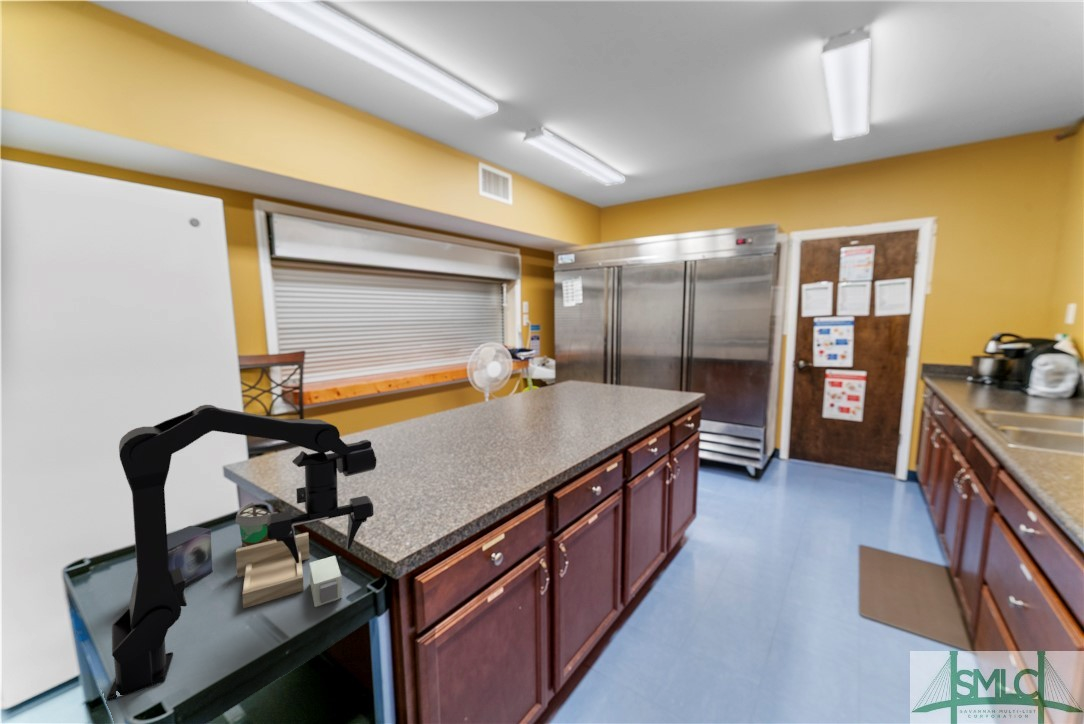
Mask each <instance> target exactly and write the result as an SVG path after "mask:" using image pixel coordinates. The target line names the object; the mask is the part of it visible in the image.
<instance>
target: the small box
mask: <svg viewBox="0 0 1084 724" xmlns="http://www.w3.org/2000/svg"><path fill="white" fill-rule="evenodd" d="M167 545H168V562H169V569H170V571H172V570H174V569H176V568H179V567H181V570H182V573H183V577H184V580H185V587H184V589H185V588H187V587H189V586H191V585H192V584H194V583H196V582H198V581H200V580H201V579H203V578H205V577H206V576H208V575H210V574H212V573H213V555H212V553H213V552H212V529H210V528H205V527H199V526H194V525H189V526H186V527H184V528H182V529H179V530H177V531H174V532H173V533H169V534H167Z"/></svg>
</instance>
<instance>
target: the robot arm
mask: <svg viewBox="0 0 1084 724" xmlns="http://www.w3.org/2000/svg"><path fill="white" fill-rule="evenodd" d="M211 432H220V433H227V434H233V435H238V436H239V435H242V436H248V437H255V438H262V439H268V440H276V441H283V442H288V443H290V444H293V445H295V446H298V447H301V448H304V449H307V450H310V451H314V452H312V453H307V452H305V451H303V450H302V451H300V453H299V455H297V456H295V458H294V459H292V461H291V462H292V463H293V465H295V466H297V467H298V468H302V467H304V478H305V479H304V483H305V486H303V487H299V488H298V487H297V488H296V489H295V490H296V491H295V492H296V504H304V506H305V507H304V509H305V511H306V512H305V513H302V514H297V515H293V516H292V510H287V511H280V512H278V513H276V514H271V515H270V516H269V517H268V523H267V535H268V539H275V538H276V541H277V542H280V541H283V542H284V544H285V545H286V546H287V547H288V548H289V550H290V552H291V553H292V555H293V557H294V559H295V561H296V563H299V552H298V547H297V542H296V537H295V535H296V532H295V527H296V526H301V525H305V524H311V523H315V522H319V521H324V520H329V519H334V518H338V517H342V516H346V515H347V516H348V519H347V521H348V522H347V534H346V550H347V551H349V550H350V549H351V547H352V545H353V542H354V539H355V537H356V535H357V532H358V531H359V529H360V527H361V525H362V524H363V523H365V522H367V521H368V518H371V517H373V516H374V504H373V502H372V500H371V498H370V497H369V496H367V495H362V496H358V497H352V498H349V504H345V505H340V506H339V499H338V498H339V497H338V494H339V493H338V473H339V474H342V475H343V476H344V477H351V476H355V475H359V474H363V473H367V472H371V471H374V470H375V469H376V465H377V456H376V454H375V451H374V449H373V447H372V441H370V440H368V439H364V440H360V441H358V442H353V443H352V442H351V443H345V442H344V441H343V440H342V439H341V438H340V436H341V435H340V431H339V429H338V427H337V426H336V425H334V424H331V423H329V422H327V421H325V420H322V419H315V418H314V419H313V418H301V419H297V418H296V419H284V418H279V417H278V418H277V417H272V416H267V415H262V414H261V415H260V414H256V413H249V412H245V411H239V410H232V409H226V408H223V407H217V406H215V405H212V404H203V405H199V406H198V407H196V408H194V409H193V410H190V411H188V412H186V413H185V412H184V413H182V414H180V415H177V416H175V417H172V418H168V419H166V420H164V421H161V422H160V423H159V422H158V423H157V424H155V425H154V426H140V427H136V428H134V429H131V430H130V431H127V432H126V434H124V435H123V436H122V437H121V439H120V441H119V443H118V453H119V460H120V463H121V466H122V469H123V471H124V475H125V478H126V480H127V483H128V486H129V487H130V488H129V489H130V490H131V495H132V497H131V498H132V499H131V500H132V512H133V513H132V514H133V524H134V525H133V528H134V529H133V531H134V545H135V546H134V548H135V559H136V573H135V577H134V580H133V581H134V582H133V585H132V589H131V594H130V600H129V607H127V608H126V610H125V611H124V612H123V613H122V614H121V615H120V616H119V617H118V618H117V619H116V620H115V621H114V622H113V623H112V625H111V656H112V657H113V661H114V662H113V663H114V673H115V675H114V676H115V679H114V681H113V683H112V685H111V687H110V689H109V691H108V694H107V696H106V701H109V702H111V701H112V700H113V701H114V700H115V699H117V698H116V697H117V695H116V691H118V692H119V693H120V695H125V696H127V695H130V694H132V693H136V692H138V691H142V690H145V689H147V688H150V687H154V686H155V685H159V684H162V683H164V682H165V681H166V679H167V677H168V674H169V670H170V667H171V664H172V660H173V657H174V652H171V651H170V652H167V650H166V639H165V638H166V636H167V633H168V631H169V628H171V627H173V626H174V624H175V623H176V622H177V621H179V619H180V616H181V614H182V607H186V606H188V604H187V601H186V596H185V594H184V593H185V592H184V591H185V588H184V587H185V580H184V577H183V573H182V570H181V567H179V568H176V569H174V570H172V571H170V569H169V562H168V545H167V536H168V533H167V531H168V530H167V514H166V511H167V509H166V495H165V494H166V493H165V492H166V491H165V486H166V482H167V478H168V476H169V475H168V474H169V471H170V467H171V461H172V454H175V453H177V452H179V451H181V450H183V449H184V448H187V447H188V446H189V445H191V444H193V443H194V442H196V441H198V440H199V439H200V438H202V437H204V436H205V435H207V434H208V433H211ZM328 452H332V453H328Z"/></svg>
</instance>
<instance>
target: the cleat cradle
mask: <svg viewBox="0 0 1084 724" xmlns="http://www.w3.org/2000/svg"><path fill="white" fill-rule="evenodd" d="M295 537H296V542H297V547H298V552H299V563H296V561H295V559H294V557H293V555H292V553H291V552H290V550H289V548H288V547H287V546H286V545H285V544H284V542H283V541H280V542H277V541H276V540H272V541H268V542H264V543H259V544H255V545H251V546H247V547H242V546H241V547H238V548H236V551H235V558H236V560H235V561H236V577H237V578H241V577H244V581H243V586H242V587H243V589H242V595H241V597H242V609H246V608H250V607H253V606H256V605H259V604H263V603H266V602H269V601H273V600H276V599H280V598H283V597H287V596H290V595H293V594H296V593H299V592H303V591H305V588H304V574H303V563H302V562H303V561H305V560H306V561H307V560H310V541H309V538H310V537H309V532H307V531H306V532H303V533H300V534H295Z"/></svg>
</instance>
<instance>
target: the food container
mask: <svg viewBox="0 0 1084 724" xmlns="http://www.w3.org/2000/svg"><path fill="white" fill-rule="evenodd" d="M276 513H279V512H278V511H276V512H275V511H274V512H270V511H269V510H268V509H266V508H260V507H256V506H255V505H254V502H253V501H252V502H250V503H247V504H245V505H243V506H242V507H240V508H239V509H238V510H237V513H236V516H235V521H234V522H235V523H236V525H238V526H239V532H240V538H241V545H242V546H241V548H242V547H247V546H251V545H255V544H259V543H264V542H268V541H272V540H276V538H275V539H268V535H267V523H268V517H269V516H270V515H271V514H276Z"/></svg>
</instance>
